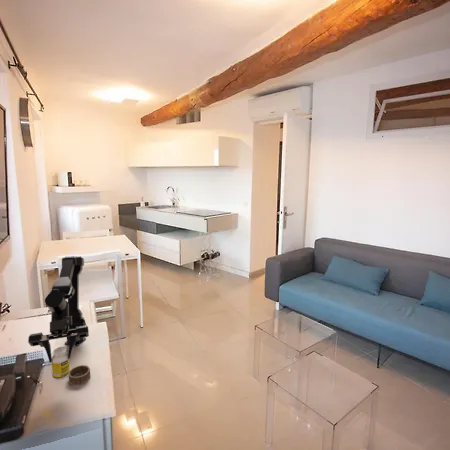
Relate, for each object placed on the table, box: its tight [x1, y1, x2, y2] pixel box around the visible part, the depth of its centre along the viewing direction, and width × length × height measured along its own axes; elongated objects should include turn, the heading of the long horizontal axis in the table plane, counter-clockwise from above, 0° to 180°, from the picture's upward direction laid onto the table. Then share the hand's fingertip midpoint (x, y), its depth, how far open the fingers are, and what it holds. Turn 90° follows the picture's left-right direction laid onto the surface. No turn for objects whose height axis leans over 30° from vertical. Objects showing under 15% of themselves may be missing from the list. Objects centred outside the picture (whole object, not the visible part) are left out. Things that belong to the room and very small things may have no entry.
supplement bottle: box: [51, 346, 71, 381], centre depth 110 cm, size 5×5×10 cm
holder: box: [67, 364, 91, 386], centre depth 119 cm, size 7×7×3 cm
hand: (59, 360), depth 108 cm, fingers closed on supplement bottle, 5 cm apart
